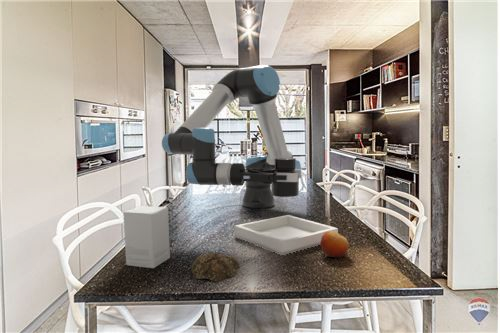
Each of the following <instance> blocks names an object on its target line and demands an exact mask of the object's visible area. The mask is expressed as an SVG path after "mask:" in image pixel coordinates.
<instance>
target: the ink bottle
mask: <svg viewBox="0 0 500 333" xmlns="http://www.w3.org/2000/svg"><path fill="white" fill-rule="evenodd" d="M296 160H297V159H296V158H294V157H293V158H275V170H276V172H274V173H275V174H276V175H277V173H296V172H294V170H295V168H296ZM299 180H300V178H299V176H298V182H277V180H276V184H273V182H272V184H271V191H272V195H273V197H278V198H291V197H292V198H293V197H298V196H299V194H300V188H299V187H300V185H299V183H300V181H299Z"/></svg>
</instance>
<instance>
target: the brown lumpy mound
mask: <svg viewBox="0 0 500 333" xmlns="http://www.w3.org/2000/svg"><path fill="white" fill-rule="evenodd" d="M239 265H240V263H239V261H238V260H237V259H236V258H234V257H233V256H229V255H225V254H220V253H216V252H211V253H204V254H201V255H198V256H197V257H196V259H195V260H194V261H193V262H192V265H191V267H190V270H191V273H192V277H193V278H194V279H196V280H206V279H207V280H210V281H211V282H215V283H216V282H221V281H224V280H226V279H229V278H233V277H234V276H235V275H236V274H237V271H238V270H239V269H240V266H239Z"/></svg>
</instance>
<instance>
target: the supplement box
mask: <svg viewBox="0 0 500 333" xmlns="http://www.w3.org/2000/svg"><path fill="white" fill-rule="evenodd" d="M122 214H123V227H124V228H123V229H124V230H123V231H124V245H125V263H126V266H128V267H129V266H130V267H131V266H132V267H140V268H147V269H155V268H156V267H158V266H159V265H161V264H163V263H164V262H166V261H167V260H169V259H170V258H171V250H170V248H171V247H170V229H169V228H170V226H169V223H170V222H169V221H170V220H169V206H167V207H166V206H151V205H140V206H138V207H137V206H136V207H135V208H132V209H128V210H126V211H123V212H122Z"/></svg>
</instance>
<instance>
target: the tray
mask: <svg viewBox="0 0 500 333" xmlns="http://www.w3.org/2000/svg"><path fill="white" fill-rule="evenodd" d="M328 231H329V232H333V231H334V232H336V233H339V228H338V227H334V226H331V225H327V224H325V223H324V224H323V223H320V222H316V221H312V220H310V219H309V220H308V219H305V218H301V217H297V216H294V215H290V214H286V215H280V216H276V217H271V218H270V217H269V218H265V219H261V220H255V221H251V222H246V223H240V224H236V225H234V238H236V237H237V238H236V239H239V238H240V239H239V240H241V239H242V241H243V240H245V241H244V242H246V241H248V242H250V243H249V244H251V243H253V244H255V245H254V246H256V245H258V246H260V247H259V248H261V247H263V248H265V249H264V250H266V249H268V250H270V251H269V252H271V251H272V252H271V253H273V252H275V253H274V254H276V253H277V254H276V255H278V254H280V255H279V256H281V255H284V256H287V255H286V254H288V255H290V254H289V253H291V254H294V253H293V252H295V253H297V252H296V251H298V252H301V251H300V250H302V251H305V250H308V249H307V248H309V249H312V248H311V247H313V248H315V246H316V247H319V246H318V245H320V242H321V239H322V236H323V234H324V233H325V232H328ZM248 242H247V243H248ZM253 244H252V245H253ZM258 246H257V247H258ZM320 246H321V245H320ZM263 248H262V249H263ZM304 249H305V250H304ZM268 250H267V251H268Z"/></svg>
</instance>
